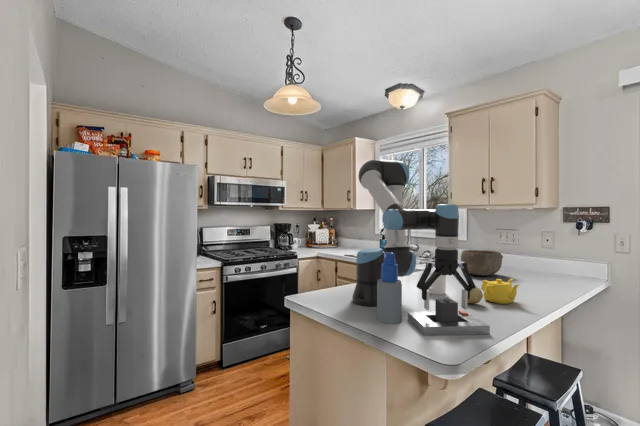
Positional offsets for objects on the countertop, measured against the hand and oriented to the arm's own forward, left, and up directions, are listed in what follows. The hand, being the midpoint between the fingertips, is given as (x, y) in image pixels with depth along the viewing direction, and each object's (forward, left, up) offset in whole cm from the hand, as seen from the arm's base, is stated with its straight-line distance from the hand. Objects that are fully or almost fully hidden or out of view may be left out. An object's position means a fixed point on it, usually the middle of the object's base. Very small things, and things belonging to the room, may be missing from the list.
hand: (445, 308), depth 116 cm
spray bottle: (-18, +8, -6) cm, 20 cm away
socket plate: (0, 0, -6) cm, 6 cm away
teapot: (+39, +30, -6) cm, 49 cm away
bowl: (+64, +90, -6) cm, 110 cm away
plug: (0, 0, -6) cm, 6 cm away
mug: (+15, +46, -6) cm, 48 cm away
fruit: (+24, +27, -6) cm, 36 cm away
